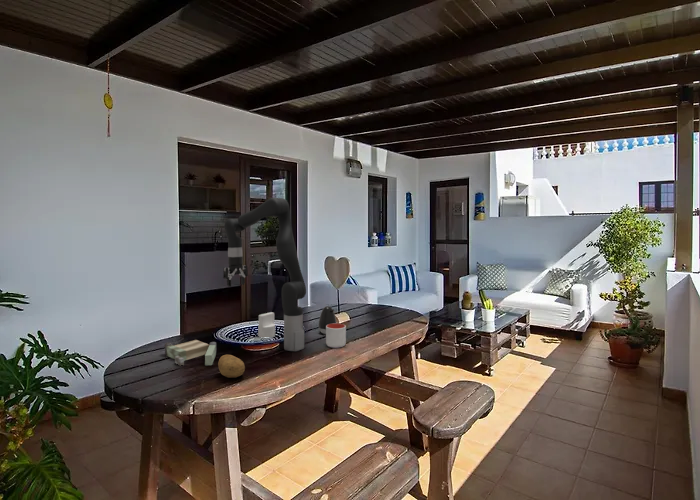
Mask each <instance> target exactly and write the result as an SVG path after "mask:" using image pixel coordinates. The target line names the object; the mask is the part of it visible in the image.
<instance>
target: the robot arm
mask: <svg viewBox="0 0 700 500" xmlns="http://www.w3.org/2000/svg"><path fill="white" fill-rule="evenodd" d="M267 217H272V218H273V217H276V218H277V221H278V225H279V226H278V227H279V228H278V232H277V236H276V237H277V238H276V240H275V241H276V243H275V247H276V251H277V256H278V258H279V260H280V262H281V263H282V265H283V266H284V267H285V269H286V270H287V272H288V274H289V275H288V276H289V278H290V281H289V282H285V283H283V285H282V287H281V305H282V306H281V307H282V310H283V349H284V350H285V351H289V352H299V351H300V350H303V349H305V329H304V322H303V321H304V314H303V313H304V310H303V309H304V308H303V307H301V306H299V305H298V304H297V303H298V302H297V301H298V300H302V299H303V298H305V297H306V294H307V287H306V284H305V279H304V277H303V273H302V270H301V267H300V262H299V258H298V253H297V247H296V242H295V238H294V234H293V233H294V232H293V226H292V221H291V220H292V219H291V209H290V204H289V201H288V200H287V199H285V198H280V197H279V198H278V197H270V198H269V199H267V200H266V201H264V202H262V203H261V204H260V205H258V206H257V207H255V208H254V209H251V210H249V211H247V212H245V213H243V214H241V215H239V216H238V217H237V218H228V219H226V220H225V221H224V225H223V226H224V231H225V235H226V238H227V241H228V242H227V243H228V244H227V246H228V248H227V259H228V260H227V262H228V264H227V265H228V267H223V275H222V276H223V277H222V278H223V279H224V280H226V286H227V287H229V288H230V287H232V278H233V277H234V276H235V275H239V276H240V285H242V286H243V285H245V284H246V277H248V276H249V270H248V265H245V264H244V259H243V258H244V257H243V242H242V241H243V240H242V237H241V236H238V235H237V234H236V232H237V233H238V232H243V231H244V230H246V229H247V228H248V227H251V226H254V225H255V224H257V223H259V222H260V220H261V219H263V218H267ZM243 264H244V265H243Z"/></svg>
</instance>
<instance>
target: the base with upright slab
mask: <svg viewBox="0 0 700 500" xmlns="http://www.w3.org/2000/svg"><path fill="white" fill-rule="evenodd" d="M257 326H258V328H257V329H258V331H257V333H258V335H257V336H259V337H258V338H260V337H272V338H274V337H276V324H275V312H272V311H270V312H267V313H266V312H265V313H261V314H259V315H258V325H257ZM273 336H274V337H273Z"/></svg>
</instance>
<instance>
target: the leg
mask: <svg viewBox="0 0 700 500" xmlns="http://www.w3.org/2000/svg"><path fill="white" fill-rule="evenodd" d="M216 355H217V342H216V341H211V342H209V348H208V350H207V352H206V354H205V355H204V366H212V365H214V361H215V358H216Z"/></svg>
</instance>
